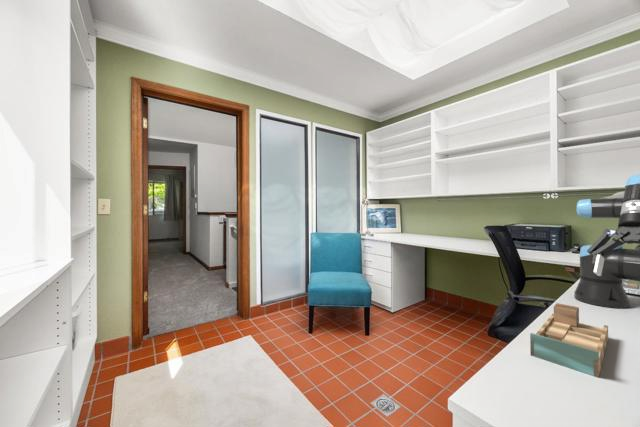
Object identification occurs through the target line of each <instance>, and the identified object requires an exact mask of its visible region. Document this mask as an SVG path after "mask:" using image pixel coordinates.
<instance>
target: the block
mask: <svg viewBox="0 0 640 427" xmlns="http://www.w3.org/2000/svg"><path fill="white" fill-rule="evenodd" d="M553 314H554V322H559V323H563V324H567V325H571V326H575V327H577V325H578V323H580V307H579V306H575V305H569V304H563V303H559V302H556V303H555V304H554V306H553Z"/></svg>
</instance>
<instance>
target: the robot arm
mask: <svg viewBox="0 0 640 427" xmlns="http://www.w3.org/2000/svg"><path fill="white" fill-rule="evenodd" d="M575 210H576V214H577V216H578V217H580V218H587V219H592V218H593V219H618V223H617V229H615V230H611V229H609V228H605V229H604V230H603V232H602V234H601V235H600V236H599V237H598V238H597V239H596V240H595V241H594V242H593V243H592V244H587V245H583V246H581V247H580V248H579V249H580V252H579V256H578V257H579V278H580V279H579V282H578V284H577V286H576V287H575V288H576V289H575V291H574V293H573V294H574V300H577V301H579V302H583V303H586V304H590V305H594V306H598V307H599V306H600V307H606V308H613V309H615V308H616V309H626V308H629V307H630V299H629V296H628V295H627V294H626V293H627V292H626V290H625V288H624V286H623V280H628V281H634V282H640V173H637V174H633V175H631V176H630V177H628V178H627V180H626V183H625V186H624V190H623V191H617V192H615V193H614V194H612V195H610V196H609V195H608V196H603V197H600V198H586V199H579V200H578V201H577V203H576V209H575ZM611 238H612V239H611ZM624 244H627V245H629V244H630V245H631V244H637V245H636V246H635V248H634V249H632V248H624V247H623V245H624Z"/></svg>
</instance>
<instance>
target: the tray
mask: <svg viewBox="0 0 640 427" xmlns="http://www.w3.org/2000/svg"><path fill="white" fill-rule="evenodd" d="M529 335H530V337H529V339H530V340H529V341H530V342H529V344H530V346H529V347H530V349H529V350H530V356H532V357H535V358H538V359H540V360H544V361H547V362H550V363H553V364H557V365H559V366H563V367H566V368H568V369H572V370H575V371H578V372H581V373H583V374H587V375H590V376H593V377H596V378H599V377H600V373H601V369H602V365H603V362H604V357H605V353H606V349H607V345H608V342H609V325H606V324H604V325H603V328H602V327H598V326H593V325H590V324H584V323H581V322H579V323H578V325H577V327H575V326H571V325H567V324H563V323H559V322H554V313H552V314H551V315H550V316H549V317H548V319H547V320H546V321H545V322H544V324H543V325H542V326H541V327H540V328H539V329H538V331H537V332H536V333H534V332H531V333H529Z"/></svg>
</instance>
